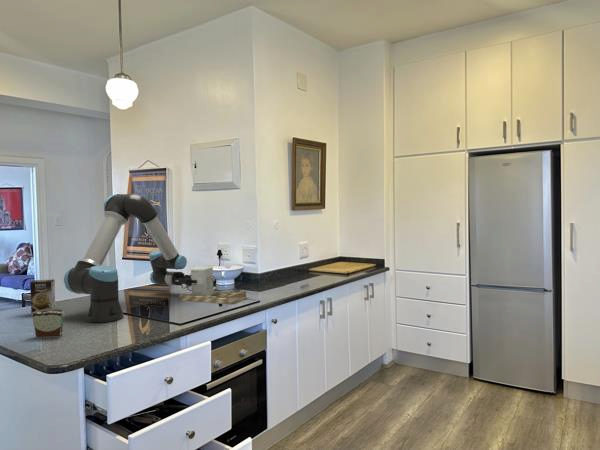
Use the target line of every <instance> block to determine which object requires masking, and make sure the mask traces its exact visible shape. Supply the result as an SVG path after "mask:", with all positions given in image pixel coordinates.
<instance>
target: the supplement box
mask: <svg viewBox="0 0 600 450" xmlns="http://www.w3.org/2000/svg"><path fill="white" fill-rule="evenodd" d="M213 272H214V269H213V266H197V267H193V268H191V269H190V275H191V279H203V284H192V285H190V286H191V288H190V291H191V295H192V296H205V297H207V296H210V295H212V294H213V291H214V281H213V276H214V274H213Z"/></svg>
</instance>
